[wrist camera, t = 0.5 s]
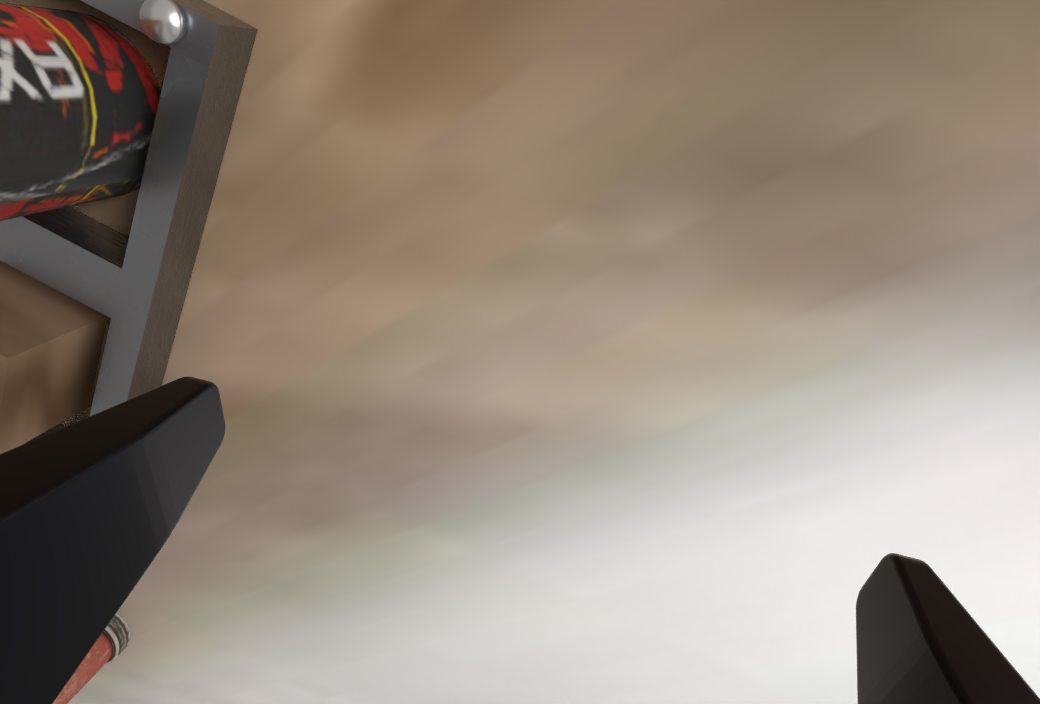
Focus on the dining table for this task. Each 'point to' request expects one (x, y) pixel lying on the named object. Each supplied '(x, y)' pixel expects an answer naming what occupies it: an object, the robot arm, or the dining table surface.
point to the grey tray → (147, 200)
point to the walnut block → (43, 356)
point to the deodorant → (69, 110)
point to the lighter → (97, 657)
